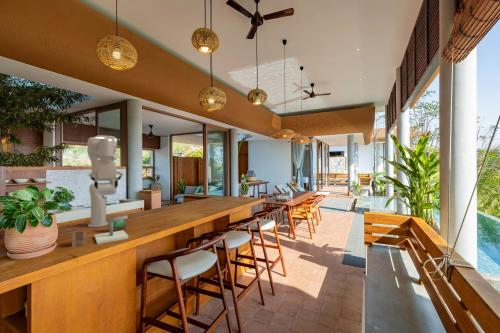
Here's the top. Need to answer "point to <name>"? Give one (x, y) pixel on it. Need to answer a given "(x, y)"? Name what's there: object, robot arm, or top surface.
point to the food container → (118, 222)
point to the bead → (78, 238)
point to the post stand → (110, 235)
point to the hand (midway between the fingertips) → (106, 188)
